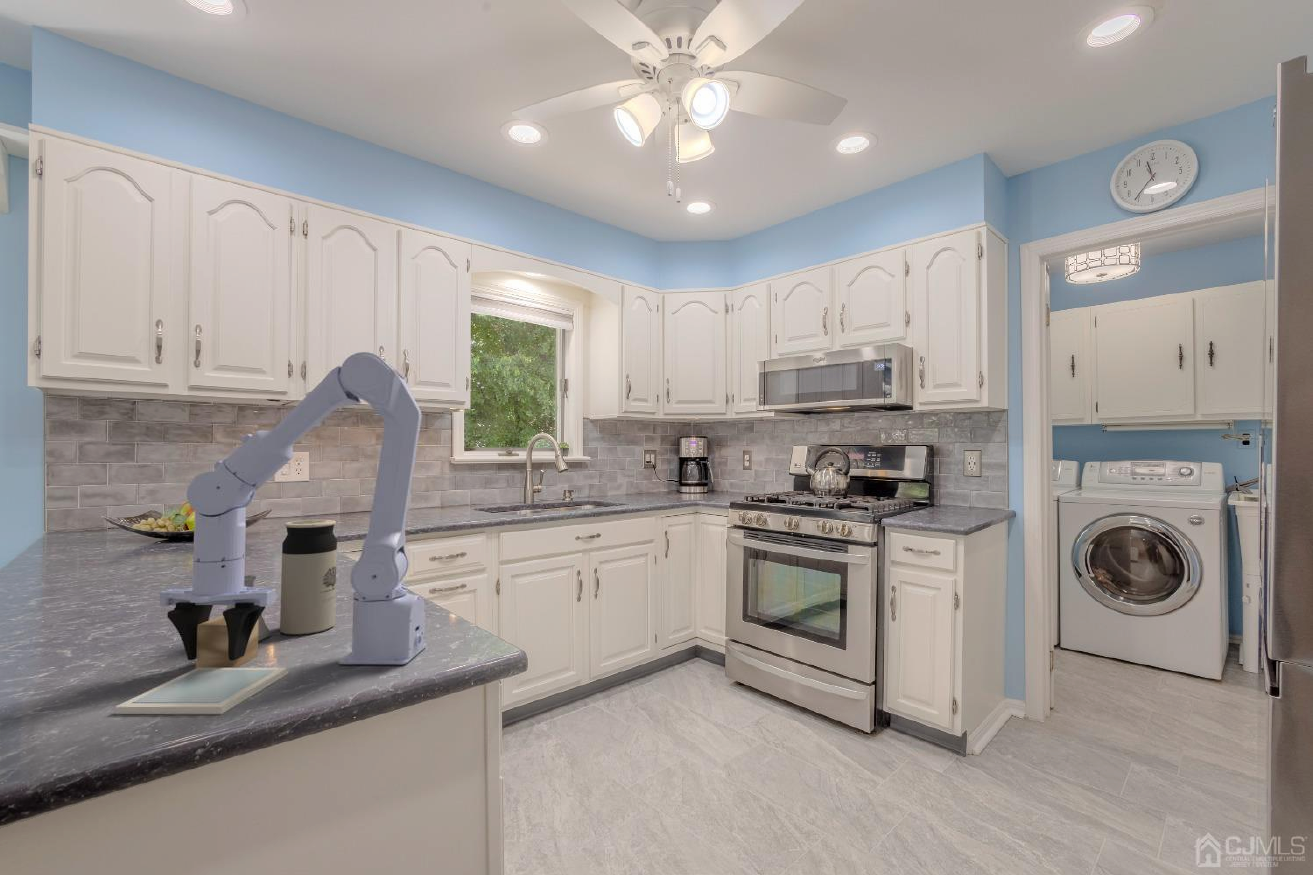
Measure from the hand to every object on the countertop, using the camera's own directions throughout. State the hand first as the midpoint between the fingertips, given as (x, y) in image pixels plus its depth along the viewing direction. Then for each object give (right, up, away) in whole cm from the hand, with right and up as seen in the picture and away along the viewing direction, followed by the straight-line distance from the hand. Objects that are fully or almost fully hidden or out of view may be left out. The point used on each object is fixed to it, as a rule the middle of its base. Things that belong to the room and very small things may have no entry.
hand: (216, 657), depth 79 cm
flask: (-5, -2, +12) cm, 13 cm away
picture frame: (+5, -1, -8) cm, 10 cm away
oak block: (0, -2, +2) cm, 3 cm away
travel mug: (+2, -2, +18) cm, 18 cm away
